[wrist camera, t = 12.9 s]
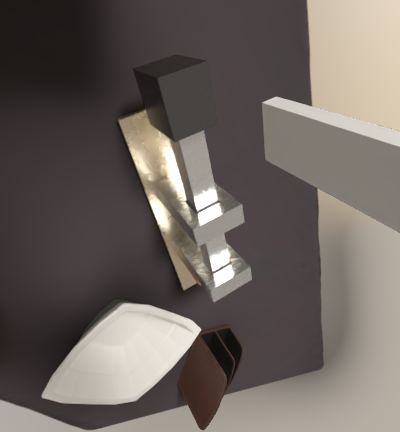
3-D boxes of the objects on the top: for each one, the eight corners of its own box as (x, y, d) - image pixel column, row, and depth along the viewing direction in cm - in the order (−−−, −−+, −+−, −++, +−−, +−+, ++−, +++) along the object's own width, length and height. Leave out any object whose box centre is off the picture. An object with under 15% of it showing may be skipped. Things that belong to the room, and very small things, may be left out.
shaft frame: (181, 287, 60) (216, 341, 50) (116, 118, 37) (155, 154, 27) (222, 263, 63) (263, 311, 52) (184, 93, 40) (243, 117, 30)
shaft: (192, 258, 48) (213, 286, 43) (132, 68, 30) (157, 78, 25) (218, 244, 50) (241, 270, 45) (175, 54, 31) (207, 60, 26)
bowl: (125, 369, 65) (137, 405, 59) (24, 355, 49) (25, 403, 43) (191, 297, 63) (210, 327, 57) (107, 260, 48) (121, 295, 42)
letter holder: (176, 383, 79) (201, 437, 69) (196, 331, 71) (227, 383, 61) (207, 372, 84) (234, 421, 74) (228, 323, 76) (261, 370, 66)
